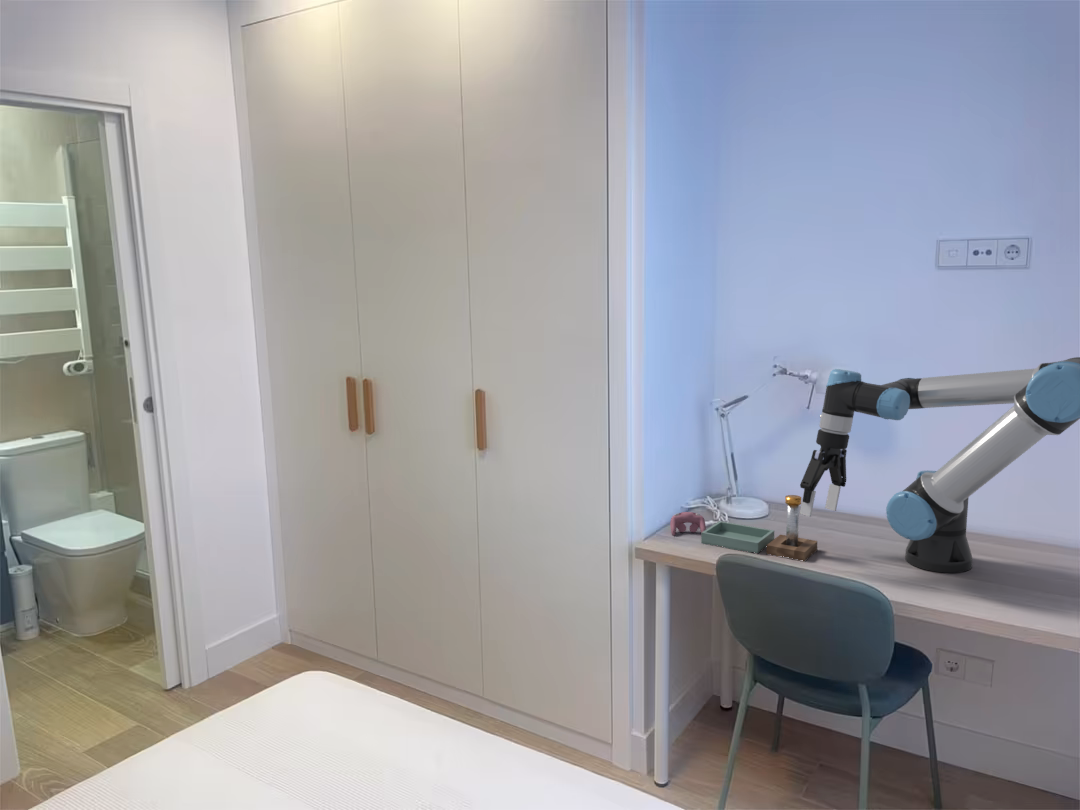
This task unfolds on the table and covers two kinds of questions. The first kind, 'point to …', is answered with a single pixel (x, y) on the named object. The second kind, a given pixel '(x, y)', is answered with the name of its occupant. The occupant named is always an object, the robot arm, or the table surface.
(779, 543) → the socket block
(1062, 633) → the table surface
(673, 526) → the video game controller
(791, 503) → the pin
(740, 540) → the tray
